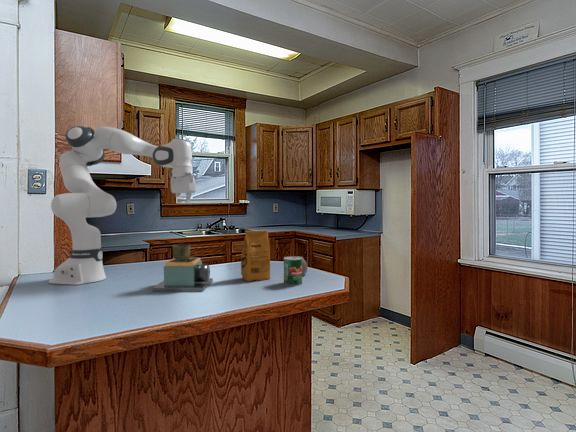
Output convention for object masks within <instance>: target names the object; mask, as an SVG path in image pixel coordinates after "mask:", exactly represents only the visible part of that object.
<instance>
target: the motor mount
mask: <svg viewBox="0 0 576 432" xmlns="http://www.w3.org/2000/svg"><path fill="white" fill-rule="evenodd" d="M177 261H178V260H176V259H175V258H174V257H173V258H172V259H170V260H168V261H166V262H165V264H164V266H163V280H162V281H161V282H159V283H157V284H156V285H155V286H153V287H151V290H152V291H151V292H163V291H173V293H174V292H175V291H177V292H178V291H180V292H182V291H190V292H191V291H200V293H201V292H204V291H206V289H207V288H208V287H209V286H210V285H211V284H213V282H214V278H212V277H211V268H210V265H209V264H203V261H202V260H201V257H189V258H188V259H186V262H177ZM210 277H211V278H210ZM180 292H179V293H180ZM190 292H189V293H190ZM175 293H176V292H175ZM182 293H183V292H182ZM191 293H192V292H191Z"/></svg>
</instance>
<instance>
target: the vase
mask: <svg viewBox="0 0 576 432" xmlns="http://www.w3.org/2000/svg"><path fill="white" fill-rule="evenodd" d="M297 257H302V277H303V276H306V274H307V272H308V263H307V261H306V260H305V259H304V257H303V256H301V255H299V256H297Z"/></svg>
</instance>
